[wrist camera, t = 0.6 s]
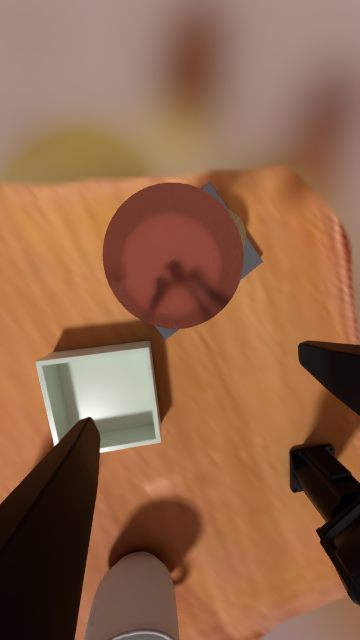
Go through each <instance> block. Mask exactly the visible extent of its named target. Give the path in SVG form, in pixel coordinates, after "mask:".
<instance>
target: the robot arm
mask: <svg viewBox="0 0 360 640" xmlns="http://www.w3.org/2000/svg"><path fill="white" fill-rule="evenodd" d="M298 355H299V362H300V364H301V365H302V366H303V367H304V368H305V369H306V370H307V371H308V372H309V373H310V374H311V375H312V376H314V377H315V378H316V379H317V380H318V381H319V382H320V383H321V384H322V385H323V386H324V387H325V388H326V389H327V390H329V391H330V392H331V393H332V394H333V395H334V396H336V397H337V398H338V399H339V400H341V401H342V402H343V403H344V404H346V405H347V406H348V407H349V408H351V409H352V410H353V411H354V412H356V413H357V414H358V415H359V416H360V345H352V344H341V343H331V342H320V341H305V342H302V343H300V344H299V345H298ZM334 453H335V448H334V446H332V445H331V444H326V445H320V446H315V447H310V448H304V449H299V450H294V451H291V452H290V489H291V490H292V492H294V493H296V492H301V491H304V493H305V494H306V495H307V497H308V498H309V499H310V501H311V502H312V504H313V505H314V506H315V508H316V509H317V510H318V512H319V513H320V515H321V516H322V517H323V519H324V520H325V522H326V523H325V524H324V525H323V526H322V527H321V528H318V529H317V530H316V532H317V534H318V536H319V537H320V539H321V540H320V544H321V545H322V547H323V548H324V550H325V551H326V553H327V555H328V556H329V558H330V559H331V561H332V563H333V565H334V566H335V568H336V571H337V573H338V575H339V577H340V579H341V581H342V583H343V585H344V587H345V589H346V591H347V593H348V595H349V597H350V598H351V600H352V601H353V602H354V603H356V604H357V605H359V606H360V483H359V482H358V481H357V480H356V479H355V478H354V477H353V476H352V474H351V472H350V471H349V470H348V469H346V468H345V467H344V466H343V465H342V464H341V463H340V462H339V461H338V460H337V459H336V458H335V457H334ZM99 457H100V433H99V431H98V429H97V426H96V424H95V422H94V420H93V419H92V418H91V417H87V418H84V419H81V420H79V421H78V422H77V423H76V424H75V425H74V426H73V427H72V428H71V429H70V430H69V431H68V432H67V434H66V435H65V436H64V437H63V438H62V439H61V440H60V441H59V442H58V443H57V444H56V445H55V446H54V447H53V448H52V450H51V451H50V452H49V453H48V454H47V455H46V456H45V457H44V458H43V459H42V460H41V461H40V462H39V463H38V464H37V466H36V467H35V468H34V469H33V470H32V471H31V472H30V473H29V474H28V475H27V476H26V477H25V478H24V479H23V480H22V482H21V483H20V484H19V485H18V486H17V487H16V488H15V489H14V490H13V491H12V492H11V493H10V494H9V495H8V497H7V498H6V499H5V500H4V501H3V502H2V503H1V504H0V640H74V639H75V633H76V626H77V620H78V613H79V606H80V600H81V593H82V587H83V580H84V574H85V567H86V560H87V554H88V547H89V541H90V534H91V527H92V521H93V514H94V508H95V501H96V495H97V487H98V475H99Z"/></svg>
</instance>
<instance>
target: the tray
mask: <svg viewBox="0 0 360 640" xmlns="http://www.w3.org/2000/svg"><path fill="white" fill-rule="evenodd" d="M35 363H36V367H37V372H38V376H39V380H40V385H41V389H42V394H43V398H44V402H45V407H46V411H47V416H48V420H49V424H50V429H51V433H52V438H53V442H54V446H55V445H56V444H57V443H58V442H59V441H60V440H61V439H62V438H63V437H64V436H65V435H66V434H67V432H68V431H69V430H70V429H71V428H72V427H73V426H74V425H75V424H76V423H77V422H78V421H79V420H81V419H84V418H87V417H91V418H92V419H93V420H94V422H95V424H96V426H97V429H98V431H99V433H100V453H101V452H107V451H113V450H119V449H125V448H130V447H136V446H142V445H148V444H154V443H160V442H161V421H160V413H159V405H158V397H157V389H156V381H155V373H154V365H153V358H152V350H151V342H150V340H147V341H139V342H131V343H123V344H115V345H107V346H98V347H90V348H82V349H74V350H66V351H57V352H52V353H50V354H48V355H46V356H45V357H43V358H41V359H39V360H37V361H35Z"/></svg>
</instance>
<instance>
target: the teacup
mask: <svg viewBox="0 0 360 640" xmlns="http://www.w3.org/2000/svg"><path fill="white" fill-rule="evenodd" d="M84 640H179V630H178V618H177V608H176V599H175V591H174V586H173V581H172V578H171V575H170V572H169V571H168V569H167V567H166V566H165V565H164V564H163V563H162V562H161V561H160V560H159V559H157V558H156V557H155V556H154V555H152V554H150V553H147V552H134V553H131V554H128V555H126V556H125V557H123V558H122V559H120V560H119V561H118V562H117V563H116V564H115V565H114V566H113V567H112V568H111V569H110V570H109V571H108V572H107V573H106V574H105V576H104V577H103V579H102V580H101V582H100V584H99V586H98V588H97V591H96V593H95V596H94V599H93V603H92V606H91V610H90V615H89V619H88V623H87V628H86V632H85V637H84Z"/></svg>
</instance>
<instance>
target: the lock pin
mask: <svg viewBox="0 0 360 640" xmlns="http://www.w3.org/2000/svg"><path fill="white" fill-rule="evenodd" d="M243 256H244V254H243V245H242V240H241V236H240V233H239V230H238V228H237V225H236V224H235V222H234V220H233V218H232V216H231V215H230V213H229V212H228V211H227V209H226V208H225V207H224V206H223V205H222V204H221V203H220V202H219V201H218V200H217V199H216V198H214V197H213V196H212V195H210V194H208V193H207V192H205V191H203V190H201V189H199V188H197V187H194V186H191V185H187V184H181V183H162V184H156V185H153V186H149V187H147V188H144V189H142V190H140V191H138V192H137V193H135V194H134V195H132V196H131V197H130V198H128V199H127V200H126V201H125V202H124V203H123V204H122V205H121V206H120V207H119V209H118V210H117V211H116V213H115V214H114V216H113V217H112V219H111V221H110V223H109V226H108V228H107V231H106V234H105V239H104V244H103V264H104V270H105V274H106V277H107V280H108V283H109V285H110V287H111V289H112V291H113V293H114V295H115V296H116V298H117V299H118V301H119V302H120V303H121V304H122V305H123V306H124V307H125V309H127V310H128V311H129V312H130V313H131V314H132V315H134V316H135V317H137V318H138V319H140V320H142V321H144V322H146V323H148V324H151V325H153V326H156V327H161V328H167V329H183V328H189V327H193V326H196V325H199V324H201V323H203V322H206V321H208V320H209V319H211V318H212V317H214V316H215V315H216V314H218V313H219V312H220V311H221V310H222V309H223V308H224V307H225V306H226V305H227V304H228V302H229V301H230V300H231V298H232V297H233V295H234V293H235V291H236V289H237V287H238V284H239V282H240V279H241V275H242V270H243Z"/></svg>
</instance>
